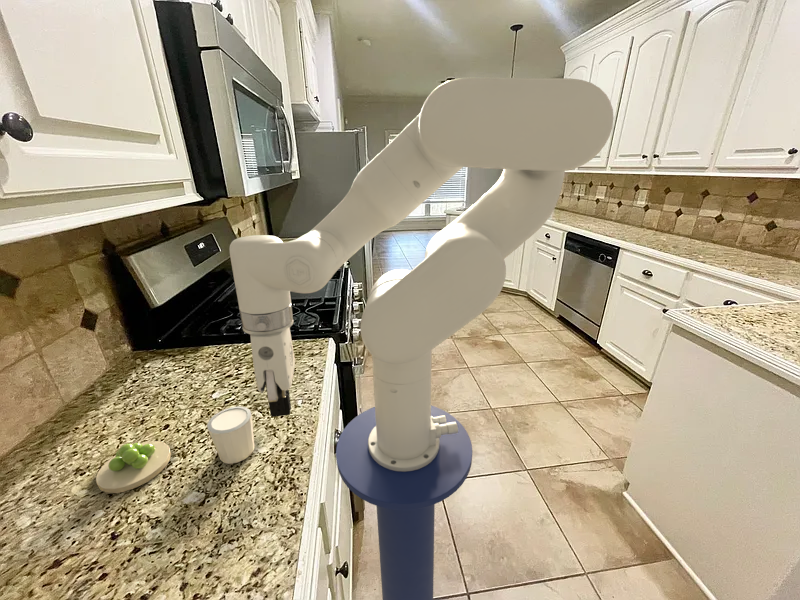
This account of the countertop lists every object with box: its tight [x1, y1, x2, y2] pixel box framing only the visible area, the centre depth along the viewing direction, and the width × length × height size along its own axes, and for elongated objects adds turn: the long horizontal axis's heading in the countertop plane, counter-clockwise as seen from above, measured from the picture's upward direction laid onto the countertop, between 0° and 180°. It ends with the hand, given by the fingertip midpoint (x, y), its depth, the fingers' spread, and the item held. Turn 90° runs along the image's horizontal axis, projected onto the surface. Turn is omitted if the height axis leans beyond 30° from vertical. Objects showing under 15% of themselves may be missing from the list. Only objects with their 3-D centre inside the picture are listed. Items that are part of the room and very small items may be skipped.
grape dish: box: [95, 440, 172, 494], centre depth 57 cm, size 10×10×5 cm
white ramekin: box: [206, 406, 255, 465], centre depth 59 cm, size 7×7×7 cm
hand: (281, 412), depth 60 cm, fingers closed
